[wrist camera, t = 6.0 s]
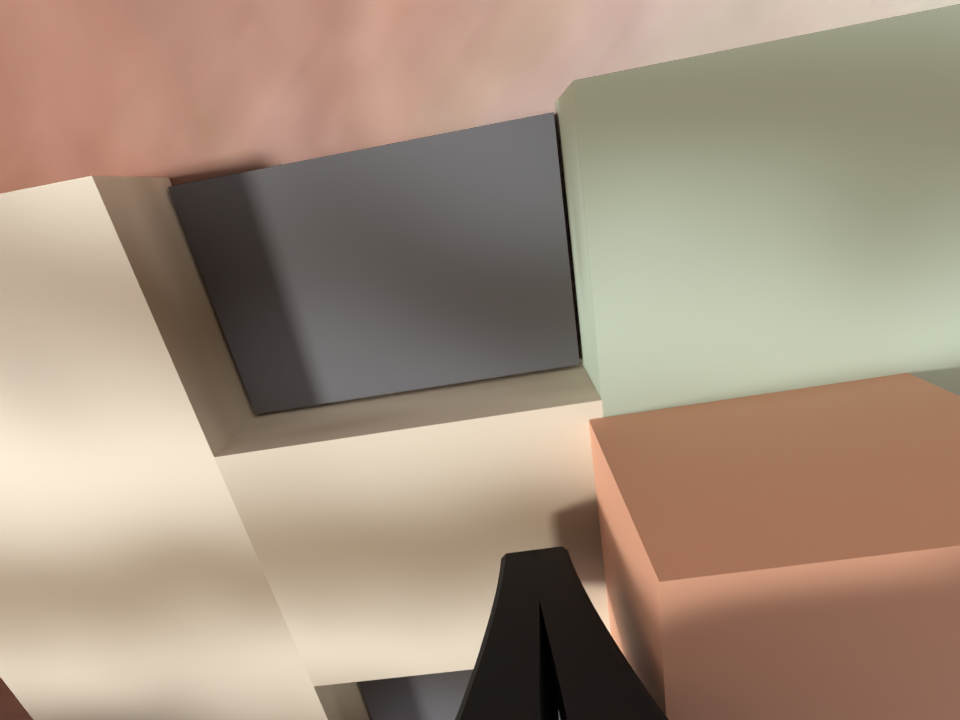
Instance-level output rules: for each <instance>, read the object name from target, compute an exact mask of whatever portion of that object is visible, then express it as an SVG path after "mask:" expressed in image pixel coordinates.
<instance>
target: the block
mask: <svg viewBox="0 0 960 720" xmlns="http://www.w3.org/2000/svg"><path fill="white" fill-rule="evenodd" d="M589 428H590V438H591V447H592V457H593V467H594V476H595V486H596V495H597V505H598V515H599V524H600V534H601V544H602V553H603V563H604V572H605V582H606V592H607V601H608V611H609V620H610V630H611V636H612V637H613V639H614V641H615V642H616V644H617V645H618V647H619V649H620V650H621V652H622V653H623V655H624V656H625V658H626V659H627V661H628V662H629V664H630V665H631V667H632V669H633V670H634V671H635V673H636V674H637V676H638V677H639V679H640V680H641V682H642V683H643V684H644V686H645V687H646V689H647V690H648V692H649V693H650V695H651V696H652V697H653V699H654V700H655V702H656V703H657V704H658V706H659V707H660V708H661V710H662V711H663V713H664V714H665V715H666V717H667V718H668V719H669V720H960V396H958V395H956V394H954V393H952V392H949V391H947V390H945V389H943V388H940V387H938V386H936V385H934V384H931V383H929V382H927V381H925V380H922V379H920V378H918V377H916V376H913V375H911V374H909V373H902V374H896V375H889V376H882V377H875V378H869V379H862V380H855V381H848V382H841V383H835V384H828V385H821V386H814V387H808V388H801V389H794V390H787V391H780V392H774V393H767V394H760V395H753V396H747V397H740V398H733V399H726V400H719V401H713V402H706V403H699V404H692V405H686V406H679V407H672V408H665V409H658V410H652V411H645V412H638V413H631V414H624V415H618V416H611V417H604V418H597V419H591V420H589Z"/></svg>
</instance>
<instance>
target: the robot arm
mask: <svg viewBox="0 0 960 720" xmlns="http://www.w3.org/2000/svg"><path fill="white" fill-rule="evenodd" d="M558 710H559V713H558ZM559 715H560V719H561V720H669V719H668V718H667V717H666V715H665V714H664V713H663V711H662V710H661V708H660V707H659V706H658V704H657V703H656V702H655V700H654V699H653V697H652V696H651V695H650V693H649V692H648V690H647V689H646V687H645V686H644V684H643V683H642V682H641V680H640V679H639V677H638V676H637V674H636V673H635V671H634V670H633V669H632V667H631V665H630V664H629V662H628V661H627V659H626V658H625V656H624V655H623V653H622V652H621V650H620V649H619V647H618V645H617V644H616V642H615V641H614V639H613V637H612V636H611V634H610V632H609V631H608V629H607V628H606V626H605V624H604V623H603V621H602V619H601V618H600V616H599V614H598V613H597V611H596V609H595V607H594V606H593V604H592V602H591V600H590V598H589V596H588V594H587V593H586V591H585V589H584V587H583V585H582V583H581V581H580V579H579V577H578V575H577V572H576V570H575V568H574V565H573V563H572V561H571V558H570V555H569V552H568V550H567V549H565V548H564V547H562V546H560V547H552V548H544V549H536V550H528V551H521V552H513V553H506V554H505V555H504V556H503V557H502V558H501V564H500V572H499V578H498V583H497V588H496V593H495V597H494V601H493V605H492V609H491V613H490V617H489V621H488V624H487V627H486V631H485V634H484V637H483V641H482V644H481V647H480V651H479V654H478V657H477V660H476V663H475V666H474V669H473V672H472V674H471V677H470V680H469V683H468V686H467V688H466V691H465V694H464V697H463V699H462V702H461V705H460V708H459V710H458V713H457V715H456V718H455V720H559Z"/></svg>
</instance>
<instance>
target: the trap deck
mask: <svg viewBox="0 0 960 720" xmlns="http://www.w3.org/2000/svg"><path fill="white" fill-rule="evenodd" d="M556 112H557V122H558V132H559V142H560V151H561V161H562V171H563V181H564V191H565V201H566V210H567V220H568V230H569V240H570V250H571V260H572V269H573V279H574V289H575V299H576V309H577V318H578V328H579V338H580V348H581V358H582V363H580V362H579V352H578V342H577V333H576V323H575V314H574V304H573V294H572V285H571V275H570V265H569V256H568V246H567V236H566V227H565V217H564V207H563V198H562V188H561V178H560V169H559V159H558V150H557V140H556V130H555V121H554V112H553V113H547V114H542V115H537V116H532V117H527V118H522V119H516V120H511V121H506V122H501V123H496V124H491V125H485V126H480V127H475V128H470V129H465V130H460V131H454V132H449V133H444V134H439V135H434V136H429V137H423V138H418V139H413V140H408V141H403V142H398V143H392V144H387V145H382V146H377V147H372V148H367V149H361V150H356V151H351V152H346V153H341V154H336V155H330V156H325V157H320V158H315V159H310V160H305V161H299V162H294V163H289V164H284V165H279V166H274V167H268V168H263V169H258V170H253V171H248V172H243V173H237V174H232V175H227V176H222V177H217V178H212V179H206V180H201V181H196V182H191V183H186V184H181V185H176V186H172V184H171V182H170V179H169V178H167V177H123V176H88V177H83V178H78V179H73V180H68V181H63V182H58V183H53V184H48V185H43V186H38V187H33V188H28V189H23V190H17V191H12V192H7V193H2V194H0V677H1V678H2V680H3V681H4V682H5V684H6V685H7V686H8V687H9V689H10V690H11V691H12V693H13V694H14V695H15V697H16V698H17V699H18V700H19V702H20V703H21V704H22V706H23V707H24V708H25V710H26V711H27V712H28V713H29V715H30V716H31V717H32V719H33V720H455V718H456V715H457V713H458V710H459V708H460V705H461V702H462V699H463V697H464V694H465V691H466V688H467V686H468V683H469V680H470V677H471V674H472V672H473V669H474V666H475V663H476V660H477V657H478V654H479V651H480V647H481V644H482V641H483V637H484V634H485V631H486V627H487V624H488V621H489V617H490V613H491V609H492V605H493V601H494V597H495V593H496V588H497V583H498V578H499V572H500V564H501V558H502V557H503V556H504V555H505V554H506V553H513V552H521V551H528V550H536V549H544V548H552V547H560V546H562V547H564V548H565V549H567V550H568V552H569V555H570V558H571V561H572V563H573V565H574V568H575V570H576V572H577V575H578V577H579V579H580V581H581V583H582V585H583V587H584V589H585V591H586V593H587V594H588V596H589V598H590V600H591V602H592V604H593V606H594V607H595V609H596V611H597V613H598V614H599V616H600V618H601V619H602V621H603V623H604V624H605V626H606V628H607V629H608V631H609V632H610V634H611V630H610V620H609V611H608V601H607V592H606V582H605V572H604V563H603V553H602V544H601V534H600V524H599V515H598V505H597V495H596V486H595V476H594V467H593V457H592V447H591V438H590V428H589V420H591V419H597V418H604V417H611V416H618V415H624V414H631V413H638V412H645V411H652V410H658V409H665V408H672V407H679V406H686V405H692V404H699V403H706V402H713V401H719V400H726V399H733V398H740V397H747V396H753V395H760V394H767V393H774V392H780V391H787V390H794V389H801V388H808V387H814V386H821V385H828V384H835V383H841V382H848V381H855V380H862V379H869V378H875V377H882V376H889V375H896V374H902V373H909V374H911V375H913V376H916V377H918V378H920V379H922V380H925V381H927V382H929V383H931V384H934V385H936V386H938V387H940V388H943V389H945V390H947V391H949V392H952V393H954V394H956V395H958V396H960V4H957V5H952V6H947V7H942V8H937V9H932V10H927V11H922V12H917V13H912V14H907V15H902V16H896V17H891V18H886V19H881V20H876V21H871V22H866V23H861V24H856V25H851V26H846V27H841V28H836V29H831V30H826V31H821V32H816V33H811V34H806V35H801V36H795V37H790V38H785V39H780V40H775V41H770V42H765V43H760V44H755V45H750V46H745V47H740V48H735V49H730V50H725V51H720V52H715V53H710V54H705V55H699V56H694V57H689V58H684V59H679V60H674V61H669V62H664V63H659V64H654V65H649V66H644V67H639V68H634V69H629V70H624V71H619V72H614V73H609V74H603V75H598V76H593V77H588V78H583V79H578V80H574V81H573V82H572V83H571V84H570V85H569V87H568V88H567V89H566V90H565V91H564V93H563V94H562V95H561V96H560V97H559V99H558V100H557V101H556ZM558 713H559V710H558ZM559 720H561V719H560V715H559Z"/></svg>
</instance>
